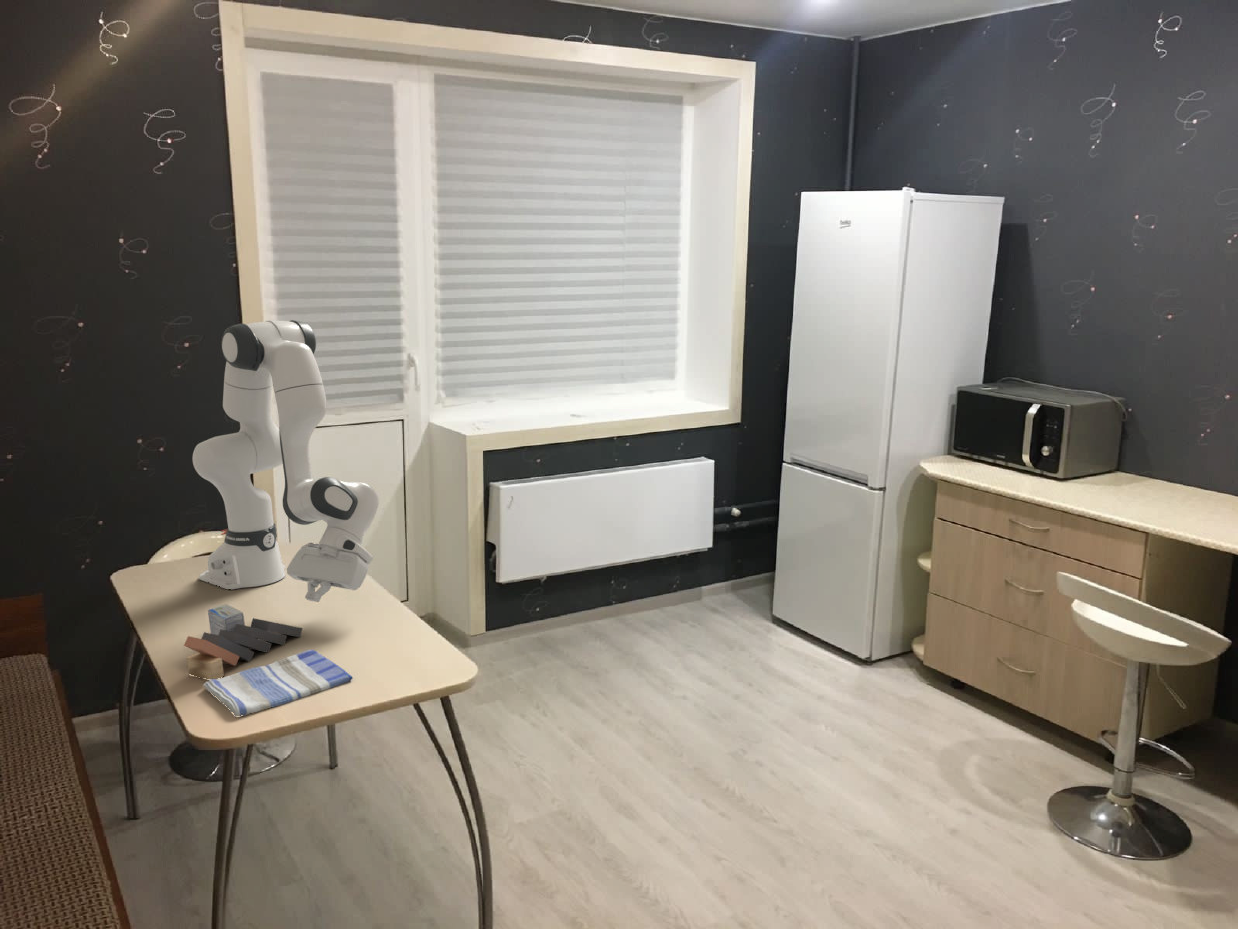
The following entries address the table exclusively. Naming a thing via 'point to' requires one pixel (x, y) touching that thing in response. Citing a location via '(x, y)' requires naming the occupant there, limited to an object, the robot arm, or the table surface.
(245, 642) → the domino
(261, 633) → the domino
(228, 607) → the medicine box
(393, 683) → the table surface
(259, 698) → the dish towel
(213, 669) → the end block
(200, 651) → the domino
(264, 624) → the domino
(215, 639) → the domino
